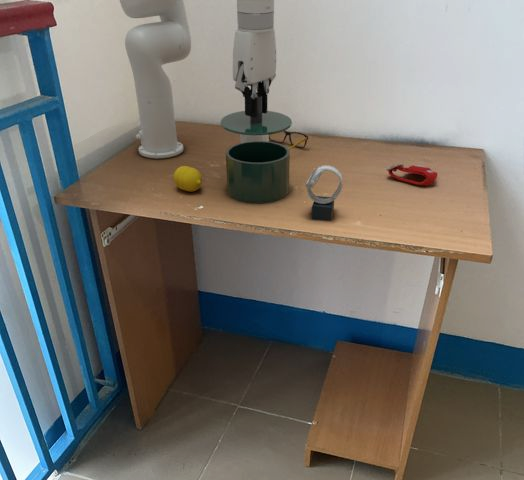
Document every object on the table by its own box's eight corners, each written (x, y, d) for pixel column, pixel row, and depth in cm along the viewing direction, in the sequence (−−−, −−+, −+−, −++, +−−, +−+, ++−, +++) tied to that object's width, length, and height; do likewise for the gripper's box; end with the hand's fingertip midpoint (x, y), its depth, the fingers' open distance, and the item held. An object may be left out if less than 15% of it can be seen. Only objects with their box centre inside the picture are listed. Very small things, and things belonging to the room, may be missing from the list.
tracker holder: (424, 165, 147) (448, 169, 138) (420, 183, 148) (443, 188, 140) (384, 160, 142) (406, 164, 134) (381, 178, 144) (402, 183, 135)
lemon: (168, 189, 139) (165, 167, 136) (184, 182, 143) (182, 160, 139) (193, 198, 135) (191, 175, 131) (209, 190, 138) (207, 168, 135)
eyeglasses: (309, 148, 160) (310, 134, 158) (281, 164, 151) (281, 149, 149) (268, 139, 167) (268, 125, 164) (239, 153, 158) (238, 139, 155)
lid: (206, 128, 128) (204, 97, 123) (250, 110, 137) (250, 81, 133) (262, 143, 120) (262, 111, 116) (305, 124, 130) (306, 93, 126)
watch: (306, 207, 130) (308, 161, 123) (341, 210, 129) (345, 163, 122) (302, 218, 126) (304, 170, 119) (338, 221, 125) (342, 173, 118)
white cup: (267, 168, 149) (265, 130, 142) (238, 167, 150) (235, 129, 144) (272, 155, 155) (271, 119, 148) (244, 154, 156) (242, 118, 149)
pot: (215, 192, 137) (212, 154, 131) (253, 173, 146) (252, 136, 140) (263, 208, 130) (263, 168, 124) (300, 187, 139) (302, 149, 133)
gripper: (265, 13, 122) (264, 102, 134) (215, 25, 112) (220, 120, 124) (293, 17, 118) (290, 108, 130) (244, 29, 109) (246, 126, 120)
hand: (256, 113), depth 127 cm, fingers closed on lid, 2 cm apart
